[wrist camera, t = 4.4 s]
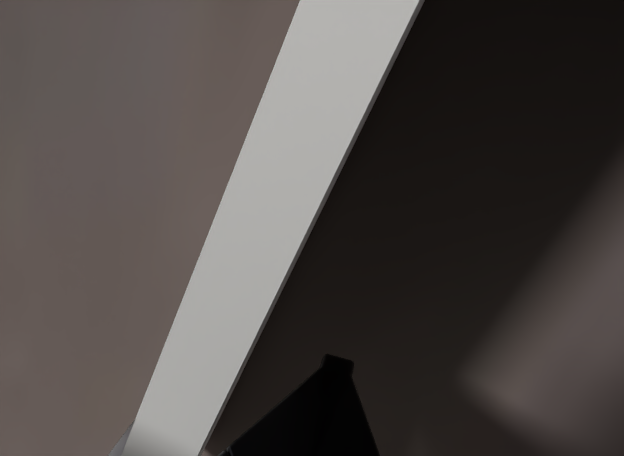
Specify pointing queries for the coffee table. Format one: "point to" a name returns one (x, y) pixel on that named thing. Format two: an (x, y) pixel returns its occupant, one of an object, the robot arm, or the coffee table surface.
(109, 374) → the coffee table surface
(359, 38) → the side door
